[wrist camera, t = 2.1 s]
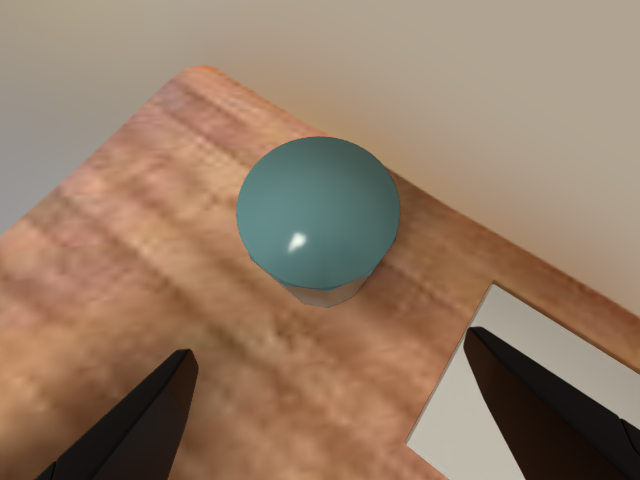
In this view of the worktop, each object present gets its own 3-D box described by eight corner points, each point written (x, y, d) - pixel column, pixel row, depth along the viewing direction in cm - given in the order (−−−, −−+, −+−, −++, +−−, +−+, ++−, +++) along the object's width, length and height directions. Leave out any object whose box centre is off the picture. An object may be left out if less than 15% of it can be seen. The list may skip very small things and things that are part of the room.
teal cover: (361, 312, 21) (395, 298, 10) (272, 300, 21) (218, 274, 11) (369, 227, 23) (404, 144, 13) (287, 217, 23) (254, 129, 13)
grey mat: (783, 467, 17) (793, 470, 17) (735, 706, 14) (746, 717, 14) (490, 284, 21) (493, 283, 21) (404, 442, 18) (406, 445, 18)
